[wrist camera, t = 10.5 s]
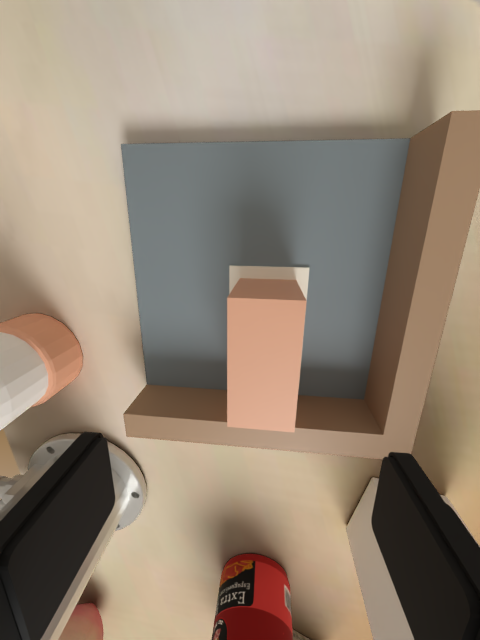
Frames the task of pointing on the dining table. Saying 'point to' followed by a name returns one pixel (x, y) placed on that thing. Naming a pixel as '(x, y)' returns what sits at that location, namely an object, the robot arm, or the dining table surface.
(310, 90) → the dining table surface
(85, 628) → the decorative fruit
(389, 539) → the robot arm
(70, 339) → the pepper shaker
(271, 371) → the terracotta block
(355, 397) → the arena board
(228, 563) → the canned food
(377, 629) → the milk carton
